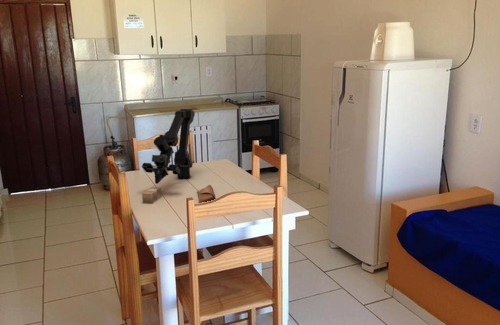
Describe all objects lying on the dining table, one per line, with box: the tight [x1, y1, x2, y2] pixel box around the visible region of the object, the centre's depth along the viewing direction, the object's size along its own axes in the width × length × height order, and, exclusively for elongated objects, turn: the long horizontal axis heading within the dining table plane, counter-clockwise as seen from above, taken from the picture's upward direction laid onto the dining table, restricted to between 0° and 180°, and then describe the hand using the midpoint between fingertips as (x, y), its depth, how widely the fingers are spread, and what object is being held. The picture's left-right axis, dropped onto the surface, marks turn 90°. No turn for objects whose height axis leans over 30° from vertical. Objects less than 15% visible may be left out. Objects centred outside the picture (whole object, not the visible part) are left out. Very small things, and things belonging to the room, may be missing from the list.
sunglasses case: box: [196, 184, 217, 204], centre depth 218 cm, size 18×7×7 cm
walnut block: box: [141, 186, 163, 205], centre depth 214 cm, size 5×5×10 cm
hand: (156, 183), depth 217 cm, fingers closed
